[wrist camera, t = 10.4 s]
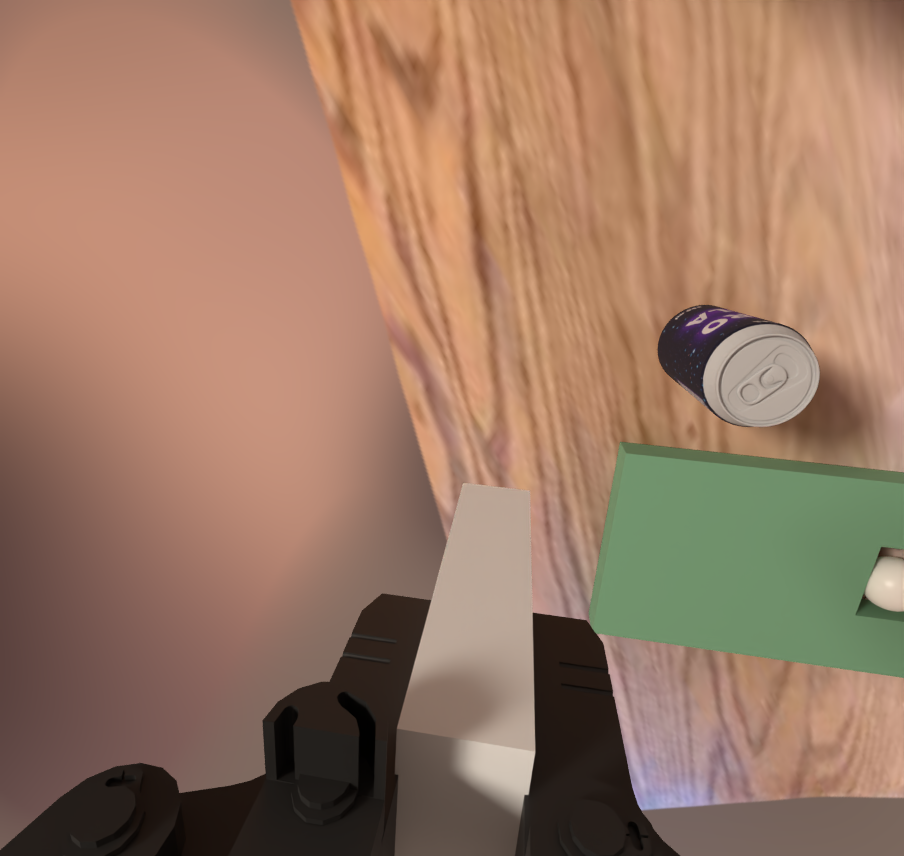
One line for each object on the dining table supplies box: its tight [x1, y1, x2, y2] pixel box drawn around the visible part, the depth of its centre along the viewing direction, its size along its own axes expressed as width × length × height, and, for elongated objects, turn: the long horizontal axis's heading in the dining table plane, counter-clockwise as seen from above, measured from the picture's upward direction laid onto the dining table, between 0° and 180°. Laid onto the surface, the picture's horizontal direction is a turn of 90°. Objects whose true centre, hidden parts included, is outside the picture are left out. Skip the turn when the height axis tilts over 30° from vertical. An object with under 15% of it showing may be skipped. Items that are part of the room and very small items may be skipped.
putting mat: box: [589, 442, 904, 678], centre depth 41 cm, size 16×28×2 cm, turn 86°
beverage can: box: [658, 305, 820, 427], centre depth 33 cm, size 6×6×12 cm
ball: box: [864, 556, 904, 612], centre depth 40 cm, size 4×4×4 cm
